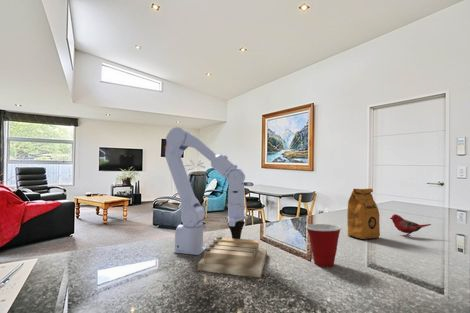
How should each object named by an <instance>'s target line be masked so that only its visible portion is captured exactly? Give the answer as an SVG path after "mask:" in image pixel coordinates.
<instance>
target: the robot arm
mask: <svg viewBox="0 0 470 313" xmlns="http://www.w3.org/2000/svg"><path fill="white" fill-rule="evenodd" d="M165 141H166V144H165V145H166V146H165V152H164V157H165V159H166V163H167V166H168V169H169V171H170V174H171V177H172V179H173V180H172V181H173V182H174V185H175V189H176V191H177V194H178V196H179V200H180V206H179V209H180V212H181V213H180V220H181V223H182V224H178V225H177V227H176V229H175V231H174V232H175V233H174V250H173V253H175V254H176V253H177V254H187V255H196V256H197V255H198V256H199V255H201V254H202V253H203V252H205V249H206V248H208V247H207V246H204V222H203V220H204V219H205V216H206V211H205V208H204V206H202V205H201V203H200V200H199V199H198V198H197V197H196V196H195V193H194V190H193V187H192V185H191V181H190V179H189V176H188V173H187V171H186V167H185V165H184V162H183V160H182V159H183V158H182V155H183V153H184V152H185V151H186V150H187V149H188V148H193V149H195V150H196V151H197V152H199V153H200V154H201V155H202V156H204V157H205V158H206V160H207V159H208V160H209V161H210V166H211V168H213V170H215V171H216V172H217V173H218V174H219V175H220V176H221V177H223V178H225V179H226V182H227V183H228V191H227V193H228V194H227V199H228V200H227V201H228V202H227V208H228V209H227V219H228V222H227V227H228V228H229V230H230V234H231V238H234V239H242V238H241V235H242V231H243V228H244V225H245V224H246V222H245V221H244V220H248V219H249V216H248V215H245V183H244V182H245V180H246V174H245V173H244V171H243V169H240V168H238V165H237V164H234V163H233V162H232V161H230V160H229V159H228V158H229V156H227V155H223V154H217V153H215V152H214V151H213V150H212V149H211V148H210V147H209V146H207V144H206V143H204V142H203V140H201V139H200V138H199V137H197V136H196V135H194V134H192V133H191V132H189V131H188V130H185V129H183V128H182V127H179V126H175V127H172V128H171V129H170V130H169V132H168V133H167V135H166V136H165Z"/></svg>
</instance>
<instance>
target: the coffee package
mask: <svg viewBox="0 0 470 313" xmlns="http://www.w3.org/2000/svg"><path fill="white" fill-rule="evenodd" d="M373 192H374V189H373V188H353V189H352V192H351V194H350V196H349V198H348V200H347V201H348V202H347V216H346V217H347V219H346V220H347V236H348V237H351V236H352V238H355V239H358V240H359V239H360V240H365V239H368V238H369V240H370V239H371V238H372V239H379V238H380V236H381V232H380V211H379V207H378V205H377V203H376V201H375V199H374V197H373V194H372V193H373Z"/></svg>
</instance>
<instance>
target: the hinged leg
mask: <svg viewBox="0 0 470 313" xmlns="http://www.w3.org/2000/svg"><path fill="white" fill-rule="evenodd" d="M213 241H218V242H227V243H238V244H250V245H257V252H258V250H259V248H260V240H259V239H249V238H248V239H246V238H240V239H234V238H232V237H230V238H229V237H222V236H215V238H214V239H213Z"/></svg>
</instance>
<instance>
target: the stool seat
mask: <svg viewBox="0 0 470 313" xmlns="http://www.w3.org/2000/svg"><path fill="white" fill-rule="evenodd" d="M203 252H204V253H203V254H204V255H203V258H201V259H200V261H198V263H197V271H201V272H209V273H219V274H225V275H226V274H227V275H236V276H244V277H252V278H253V277H254V278H261V277H262V274H263V269H264V266H265V262H266V260H267V255H268V248H261V247H259V250H258V252H257V245H250V244H238V243H227V242H218V241H214V240H213V242H212V244H209V247H207V248H206V249H205V250H204V251H203Z"/></svg>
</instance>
